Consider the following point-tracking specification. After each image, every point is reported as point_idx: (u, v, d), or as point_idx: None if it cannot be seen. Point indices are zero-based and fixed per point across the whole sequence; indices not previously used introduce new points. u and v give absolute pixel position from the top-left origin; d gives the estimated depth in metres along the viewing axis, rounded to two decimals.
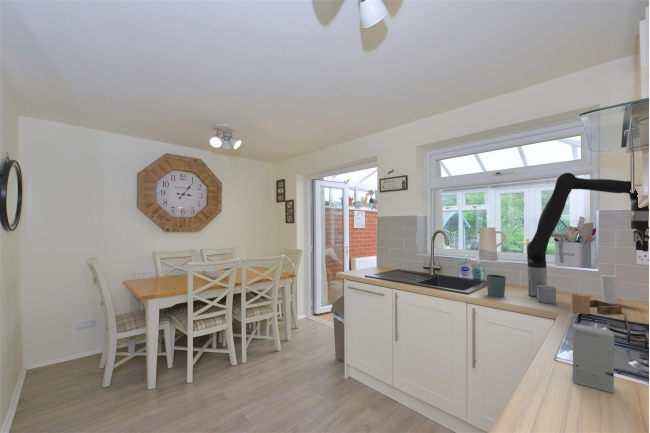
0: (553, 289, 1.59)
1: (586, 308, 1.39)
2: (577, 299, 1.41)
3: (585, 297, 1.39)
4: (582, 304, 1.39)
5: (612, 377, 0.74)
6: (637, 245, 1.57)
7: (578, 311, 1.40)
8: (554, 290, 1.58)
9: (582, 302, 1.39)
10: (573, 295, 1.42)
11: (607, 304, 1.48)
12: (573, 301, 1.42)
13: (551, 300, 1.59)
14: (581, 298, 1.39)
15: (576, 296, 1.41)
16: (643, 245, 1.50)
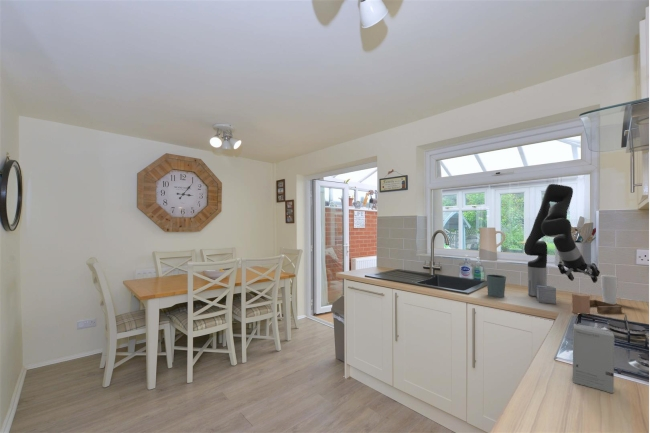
0: (553, 289, 1.59)
1: (586, 308, 1.39)
2: (577, 299, 1.41)
3: (585, 297, 1.39)
4: (582, 304, 1.39)
5: (612, 377, 0.74)
6: None
7: (578, 311, 1.40)
8: (554, 290, 1.58)
9: (582, 302, 1.39)
10: (573, 295, 1.42)
11: (607, 304, 1.48)
12: (573, 301, 1.42)
13: (551, 300, 1.59)
14: (581, 298, 1.39)
15: (576, 296, 1.41)
16: None
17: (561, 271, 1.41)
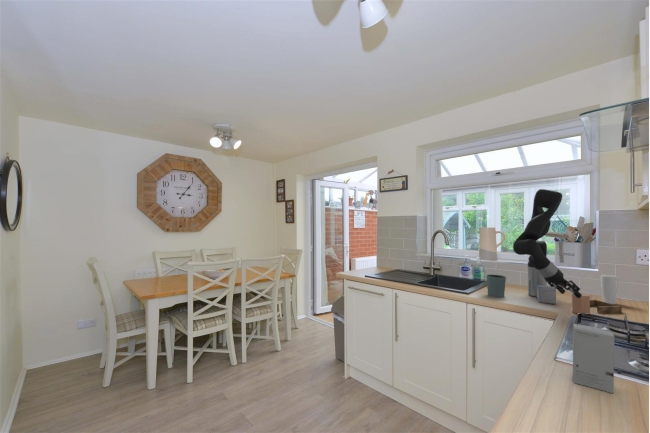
0: (553, 289, 1.59)
1: (586, 308, 1.39)
2: (576, 299, 1.41)
3: (585, 297, 1.39)
4: (582, 304, 1.39)
5: (612, 377, 0.74)
6: None
7: (578, 311, 1.40)
8: (554, 290, 1.58)
9: (582, 302, 1.39)
10: (573, 295, 1.42)
11: (607, 304, 1.48)
12: (573, 301, 1.42)
13: (551, 300, 1.59)
14: (581, 298, 1.39)
15: None
16: None
17: (550, 284, 1.47)
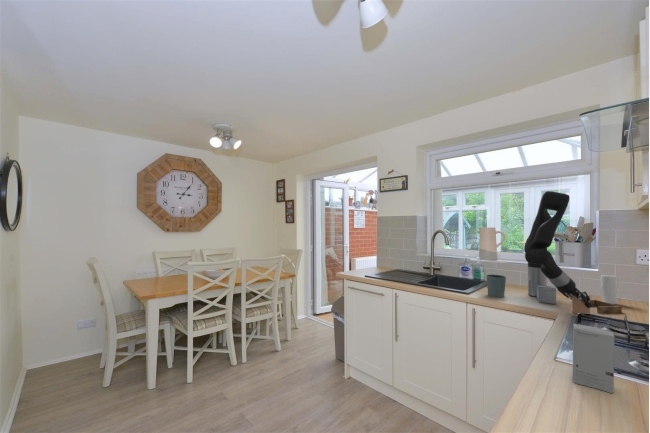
0: (553, 289, 1.59)
1: (586, 308, 1.39)
2: None
3: None
4: (582, 304, 1.39)
5: (612, 377, 0.74)
6: None
7: (578, 311, 1.40)
8: (554, 290, 1.58)
9: None
10: None
11: (607, 304, 1.48)
12: (573, 301, 1.42)
13: (551, 300, 1.59)
14: (581, 298, 1.39)
15: None
16: None
17: (565, 295, 1.46)
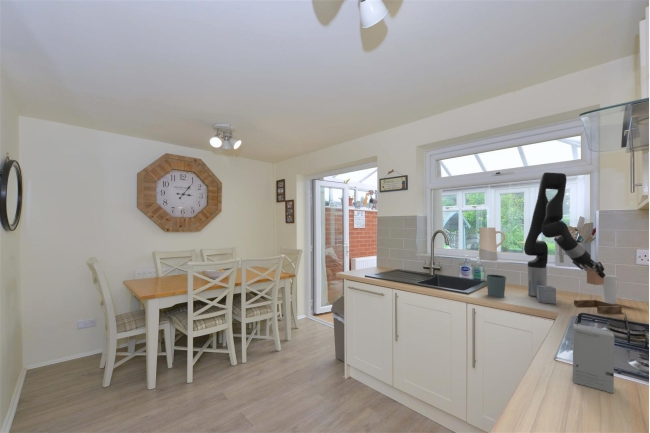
0: (553, 289, 1.59)
1: (600, 278, 1.47)
2: (591, 270, 1.48)
3: None
4: (596, 274, 1.47)
5: (612, 377, 0.74)
6: None
7: (592, 281, 1.48)
8: (554, 290, 1.58)
9: (596, 273, 1.47)
10: None
11: (607, 304, 1.48)
12: (587, 272, 1.50)
13: (551, 300, 1.59)
14: None
15: None
16: None
17: (579, 267, 1.54)
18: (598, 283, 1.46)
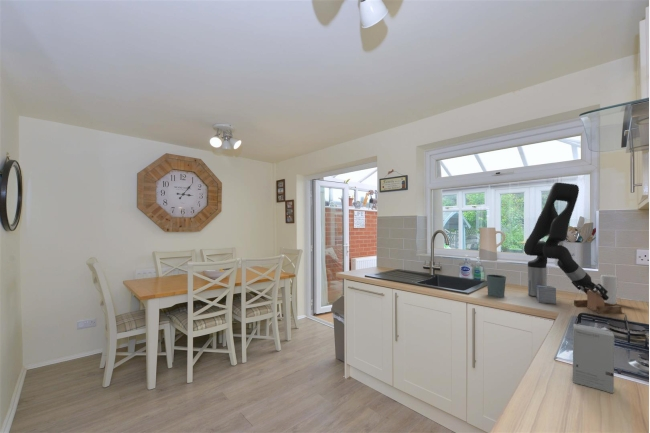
0: (553, 289, 1.59)
1: (601, 304, 1.46)
2: (592, 295, 1.48)
3: None
4: (597, 300, 1.46)
5: (612, 377, 0.74)
6: None
7: (593, 307, 1.47)
8: (554, 290, 1.58)
9: (597, 298, 1.46)
10: (588, 291, 1.50)
11: (607, 304, 1.48)
12: (588, 297, 1.50)
13: (551, 300, 1.59)
14: (596, 294, 1.46)
15: (591, 292, 1.48)
16: None
17: (577, 287, 1.55)
18: None
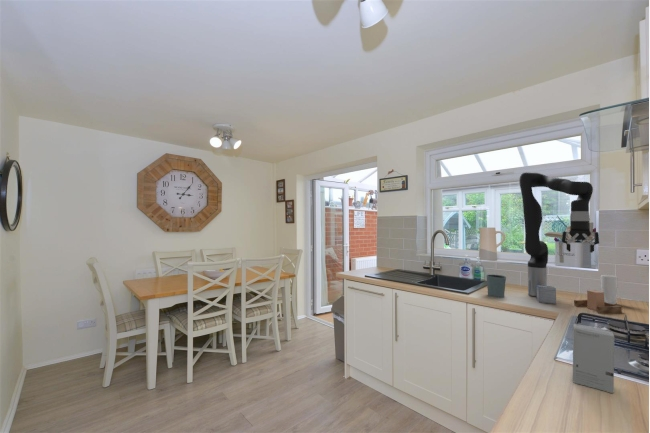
0: (553, 289, 1.59)
1: (601, 304, 1.46)
2: (592, 295, 1.48)
3: (600, 293, 1.46)
4: (597, 300, 1.46)
5: (612, 377, 0.74)
6: (590, 247, 1.48)
7: (593, 307, 1.47)
8: (554, 290, 1.58)
9: (597, 298, 1.46)
10: (588, 291, 1.50)
11: (607, 304, 1.48)
12: (588, 297, 1.50)
13: (551, 300, 1.59)
14: (596, 294, 1.46)
15: (591, 292, 1.48)
16: None
17: (564, 239, 1.52)
18: None
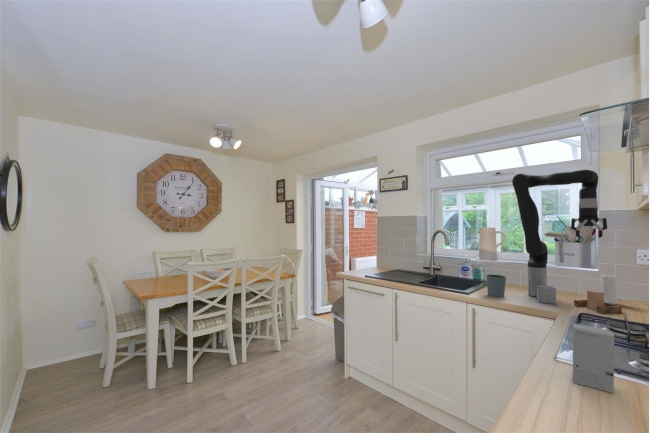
0: (553, 289, 1.59)
1: (601, 304, 1.46)
2: (592, 295, 1.48)
3: (600, 293, 1.46)
4: (597, 300, 1.46)
5: (612, 377, 0.74)
6: (598, 233, 1.54)
7: (593, 307, 1.47)
8: (554, 290, 1.58)
9: (597, 298, 1.46)
10: (588, 291, 1.50)
11: (607, 304, 1.48)
12: (588, 297, 1.50)
13: (551, 300, 1.59)
14: (596, 294, 1.46)
15: (591, 292, 1.48)
16: None
17: (573, 226, 1.58)
18: None
